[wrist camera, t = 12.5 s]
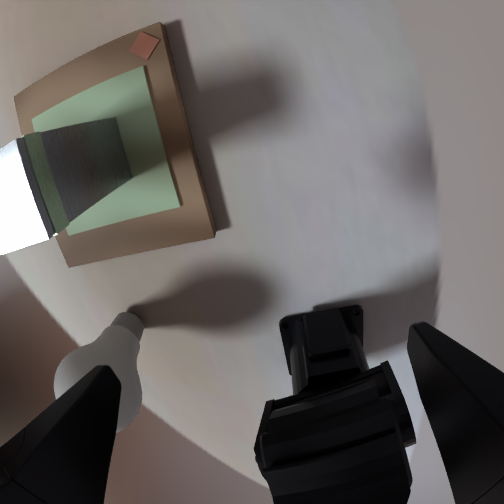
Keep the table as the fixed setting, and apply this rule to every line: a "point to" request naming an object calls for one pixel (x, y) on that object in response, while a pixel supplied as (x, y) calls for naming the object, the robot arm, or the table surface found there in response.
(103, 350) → the lightbulb
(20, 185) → the column
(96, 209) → the stand plate
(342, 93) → the table surface
